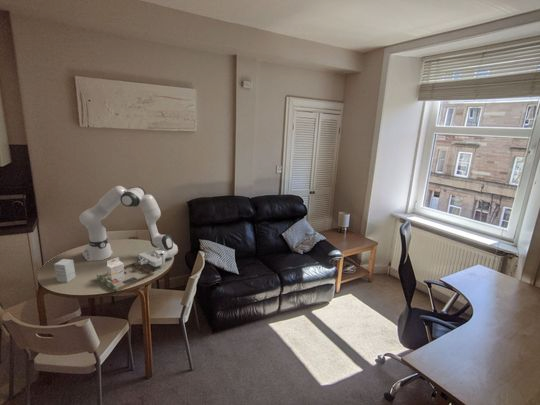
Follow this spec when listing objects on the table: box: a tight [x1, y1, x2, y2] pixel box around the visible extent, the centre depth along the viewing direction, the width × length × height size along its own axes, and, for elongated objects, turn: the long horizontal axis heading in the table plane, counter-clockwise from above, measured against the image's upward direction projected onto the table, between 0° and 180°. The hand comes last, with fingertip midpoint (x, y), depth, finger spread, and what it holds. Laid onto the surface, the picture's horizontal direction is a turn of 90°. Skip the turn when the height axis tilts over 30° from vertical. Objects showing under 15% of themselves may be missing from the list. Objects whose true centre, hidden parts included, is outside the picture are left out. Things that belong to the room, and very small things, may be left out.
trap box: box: [96, 262, 155, 292], centre depth 192 cm, size 23×26×4 cm
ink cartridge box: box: [106, 256, 126, 284], centre depth 186 cm, size 9×5×15 cm, turn 146°
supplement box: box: [53, 258, 77, 284], centre depth 184 cm, size 7×7×13 cm
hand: (139, 263), depth 199 cm, fingers closed
